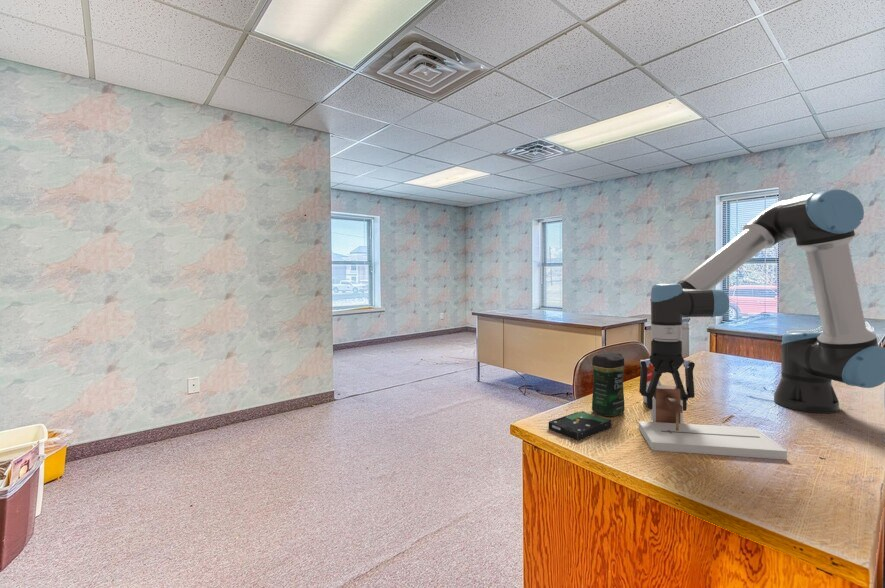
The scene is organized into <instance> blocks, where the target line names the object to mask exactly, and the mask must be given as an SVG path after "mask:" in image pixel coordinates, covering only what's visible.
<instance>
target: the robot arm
mask: <svg viewBox="0 0 885 588" xmlns="http://www.w3.org/2000/svg"><path fill="white" fill-rule="evenodd" d="M864 216H865V211H864V206H863V204H862V202H861V200H860V199H859V197H857V196H856V195H855V194H853V193H852V192H849V191H847V190H845V189H839V188H838V189H837V188H836V189H826V190H825V189H823V190H818V191H816V192H812V193H808V194H802V195H798V196H795V197H789V198H785V199H782V200H779V201H778V202H776V203H774V204H772V205H771V206H769V207H767V208H766V209H764V210H763V211H761V212H760V213H759V214H758V215H756V216H755V217H754V218H753V219H751V220H750V221H749V222H747V223H746V224H745V225H744V226H743V227H742V231H741V233H739V234H738V235H737V236H735V237H734V238H733V239H731V240H730V241H729V242H727V243H726V244H725V245H723V247H721V248H720V249H719V250H718V251H716V252H715V253H714V254H713V255H711V256H710V257H708V258H707V259H706V260H704V261H703V262H702V263H701V264H699V266H697V267H696V268H694V269H693V270H692V271H691V272H689V273H688V274H687V275H686V276H684V277H683V278H682V279H681V280H679V281H678V282H677V283H655V284H653V285H652V287H651V291H650V337H651V338H652V339H651V340H650V356H649V358H646V359H639V361H638V362H639V366H640V376H639V391H638V392H639V394H640V395H641V396H642V397H643V396H646V397H647V404H646V407H647V409H648V410H650V417H649V419H650V420H651V422H656V399H655V398H654V396H653V395H654V393H655V390H656V387H657V384H658V381H660V379H661V377H662V376H663V375H662V374H666V373H668V374H671V375H672V378H673V381H674V384H675V386H676V387H678V388H679V389H680V405H681V406H682V413H680V424H684V419H683V417H684V416H683V415H684V412H686V411H687V409H688V408H687V407H688V405H687V403H688V400H689V399H694V398H695V394H696V393H695V383H694V369H695V365H696V363H695V362H694V361H691V360H686V359H684V357H683V342H682V340H681V339H682V338H683V325H682V324H683V319H684V318H714V317H722V316H723V317H724V315H725V314H727V313H728V311H729V308H730V299H729V296H728V294H727V293H726V292H725V291H724V290H722V289H714V288H715V287H716V286H717V285H718V284H719V283H721V282H722V281H723V280H724V281H725V279H727V277H730V275H731V274H733V273H734V272H735V271H736V270H737V271H738V269H739V268H741V267H742V266H743V265H744V264H746V263H747V262H748V261H749V260H751V259H753V257H755V256H756V255H758V254H759V253H760V252H762V250H764V249H766V250H767V249H771V248H772V247H773V246H775V245H776V244H778V243H780V242H783V241H784V240H785V241H786V240H789V239H793V238H795V243H796V246H797V247H798V248H800V249H802V250H803V251H805V255H806V260H807V264H808V269H809V273H810V278H811V283H812V288H813V292H814V296H815V301H816V305H817V306H816V307H817V309H818V310H817V311H818V315H819V320H820V324H821V329H822V331H803V332H800V331H799V332H798V331H797V332H795V331H793V332H786V333H784V334H783V335H782V338H781V344H780V346H781V347H780V350H781V353H780V354H781V355H780V356H781V358H780V360H781V361H780V362H781V366H780V367H781V369H780V370H781V373H780V375H781V377H780V380H779V382H778V384H777V387H776V388H775V391H774V393H773V401H774V402H775V404H777V405H779V406H782V407H786V408H788V409H793V410H796V411H802V412H809V413H817V414H818V413H819V414H831V413H838V411H840V402H839V399H838V397H837V394H836V392H835V390H834V387H833V384H832V381H835V382H839V383H843V384H845V385H847V386H850V387H857V388H863V389H871V388H877V387H879V386H880V385H881V386H882V385H883V384H884V383H885V347H884V346H881V345H879V343H878V339H877V335H876V333H874V332H872V331H871V330H868V329H867V326H866V321H865V315H864V311H863V307H862V302H861V301H862V300H861V297H860V293H859V292H860V291H859V289H858V287H859V286H858V283H857V277H856V273H855V270H854V265H853V264H854V263H853V259H852V254H851V251H850V250H851V249H850V245H849V244H850V242H851V241H852V240H853V239H854V238H855V237H856V233H855V230H856V229H857V228H858V227H859V226H860V225H861V224H862V220H863V219H864ZM650 364H651V366H652V365H653V366H654V367H655V368H654V371H653V375H652V378H651V381H650V384H649V387H648V390H647V391H646V387H647V373H648V372H649V368H648V367H649V366H650ZM682 365H683V368H684V375H685V387H686V388H685V387H684V384H683V382H682V379H681V374H680V372H679V368H681V366H682ZM647 368H648V370H647ZM685 389H686V390H685Z"/></svg>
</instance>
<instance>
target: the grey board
mask: <svg viewBox="0 0 885 588" xmlns="http://www.w3.org/2000/svg"><path fill="white" fill-rule="evenodd" d="M638 430H639V431H640V433H641V435H642V436H643V438H644V439H645V441H646V443H647V444H648V446H649V448H650V449H651V451H657V452H658V451H659V452H670V453H671V452H672V453H685V454H686V453H687V454H689V453H690V454H699V455H700V454H702V455H715V456H716V455H717V456H729V457H742V458H743V457H744V458H755V459H756V458H758V459H769V460H771V459H772V460H773V459H774V460H784V461H785V460H788V451H787V450H786V449H785V448H783V447H782V446H781V445H780V444H779V443H777V442H776V441H774V440H773V439H771V438H770V437H769V436H767V435H766V434H764V433H763V432H762V431H760V430H759V429H758V428H756V427H751V426H750V427H747V426H730V425H717V424H716V425H711V424H697V423H696V424H694V423H683V424H681V423H679V430H678V431H677V430H676V423H661V422H653V421H642V420H640V421H638Z"/></svg>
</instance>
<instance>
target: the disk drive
mask: <svg viewBox="0 0 885 588" xmlns="http://www.w3.org/2000/svg"><path fill="white" fill-rule="evenodd" d="M609 429H612V420H611V419H610V418H606V417H602V416H601V415H598V414H591V413H588V412H585V411H584V410H582V411H577V412H573V413H570V414H568V415H564V416H561V417H558V418H555V419H552V420H549V421H548V430H550V431H553V432H556V433H557V434H559V435H563V436H564V435H565V437H568V438H569V437H570V439H572V438H573V439H572V440H575V441H577V442H578V441H582V440H584V439H587V438H588V436H589V437H591V435H592V436H594V435H596V434H599V433H601V432H604V431H607V430H609ZM586 437H587V438H586ZM581 439H582V440H581Z"/></svg>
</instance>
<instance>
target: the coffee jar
mask: <svg viewBox="0 0 885 588" xmlns="http://www.w3.org/2000/svg"><path fill="white" fill-rule="evenodd" d="M591 368H592V372H593V378H592V379H593V383H592V384H593V385H592V398H591V399H592V401H591V402H592V403H591V411H592V412H594V413H595V414H596V415H598V416H601V417H602V416H606V417H614V416H618V415H621V414H623V413H625V411H626V410H625V395H624V394H625V393H624V371H625V357H624V356H623V354H622V353H618V352H617V353H616V352H612V351H610V352H606V353H602V354H601V353H600V354H596V355H593V357H592V362H591Z"/></svg>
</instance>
